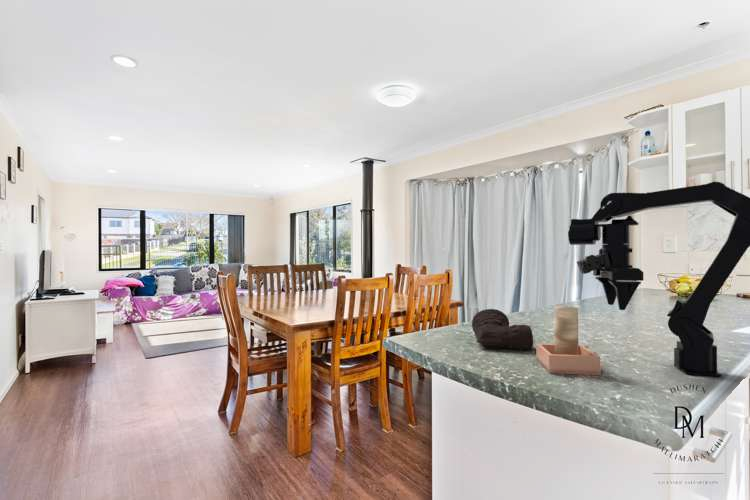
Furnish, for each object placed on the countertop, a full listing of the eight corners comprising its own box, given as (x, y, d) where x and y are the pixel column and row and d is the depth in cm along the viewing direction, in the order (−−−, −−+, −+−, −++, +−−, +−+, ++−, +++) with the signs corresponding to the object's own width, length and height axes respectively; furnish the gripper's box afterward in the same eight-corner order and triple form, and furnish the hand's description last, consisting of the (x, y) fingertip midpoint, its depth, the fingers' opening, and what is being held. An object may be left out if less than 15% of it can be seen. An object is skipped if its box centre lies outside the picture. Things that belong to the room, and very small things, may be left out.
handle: (568, 344, 109) (587, 345, 108) (568, 346, 109) (587, 347, 108) (575, 350, 102) (596, 351, 101) (575, 354, 102) (596, 355, 101)
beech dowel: (581, 363, 90) (581, 307, 90) (573, 368, 86) (573, 310, 86) (559, 359, 93) (559, 305, 93) (551, 363, 90) (550, 307, 90)
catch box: (581, 361, 94) (581, 344, 94) (600, 375, 84) (600, 356, 84) (536, 359, 96) (536, 343, 96) (549, 373, 85) (549, 355, 85)
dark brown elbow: (533, 325, 102) (521, 307, 116) (475, 327, 104) (470, 309, 119) (535, 359, 103) (522, 337, 118) (477, 361, 106) (472, 339, 120)
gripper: (572, 245, 107) (572, 301, 107) (588, 244, 89) (588, 311, 89) (618, 244, 104) (618, 302, 104) (644, 243, 86) (644, 313, 86)
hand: (616, 307), depth 96 cm, fingers open, 9 cm apart
